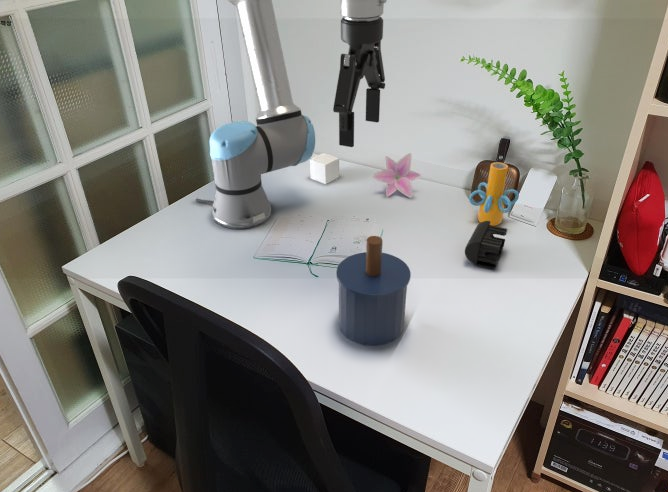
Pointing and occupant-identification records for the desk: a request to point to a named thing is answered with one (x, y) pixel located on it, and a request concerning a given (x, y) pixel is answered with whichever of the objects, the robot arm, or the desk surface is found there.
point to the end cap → (485, 245)
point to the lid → (373, 272)
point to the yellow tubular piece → (494, 195)
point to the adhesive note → (324, 168)
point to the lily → (398, 176)
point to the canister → (371, 317)
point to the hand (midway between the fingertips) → (360, 133)
